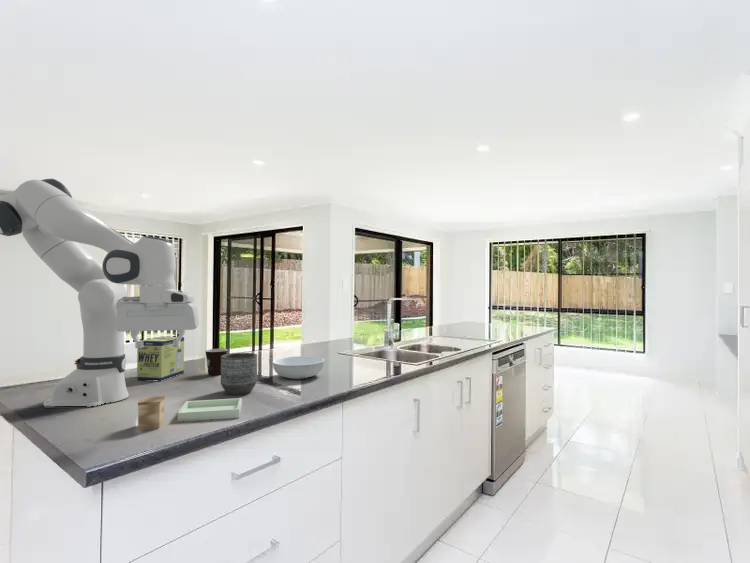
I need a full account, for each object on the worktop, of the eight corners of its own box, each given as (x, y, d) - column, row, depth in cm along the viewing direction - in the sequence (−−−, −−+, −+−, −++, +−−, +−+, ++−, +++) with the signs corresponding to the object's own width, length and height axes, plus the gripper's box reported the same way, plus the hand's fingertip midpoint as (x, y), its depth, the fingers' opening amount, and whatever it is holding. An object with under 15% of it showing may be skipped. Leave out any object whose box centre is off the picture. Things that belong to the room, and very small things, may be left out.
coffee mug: (206, 372, 177) (206, 349, 178) (227, 371, 180) (227, 348, 180) (203, 378, 166) (203, 353, 167) (226, 377, 169) (226, 352, 169)
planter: (261, 387, 152) (261, 352, 152) (251, 396, 140) (251, 358, 140) (227, 387, 152) (228, 352, 152) (214, 396, 140) (215, 358, 140)
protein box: (136, 380, 162) (136, 340, 162) (161, 372, 177) (162, 336, 178) (161, 381, 161) (161, 341, 161) (184, 373, 176) (184, 336, 176)
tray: (177, 421, 113) (177, 413, 113) (186, 409, 125) (186, 401, 125) (239, 417, 117) (239, 409, 117) (241, 405, 129) (242, 398, 129)
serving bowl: (280, 371, 182) (280, 355, 182) (327, 372, 181) (328, 356, 181) (265, 382, 161) (265, 364, 161) (319, 383, 160) (319, 365, 160)
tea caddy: (137, 430, 107) (137, 402, 107) (143, 423, 112) (143, 397, 112) (159, 428, 108) (160, 401, 108) (164, 422, 113) (164, 396, 113)
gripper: (110, 297, 108) (111, 350, 108) (193, 295, 112) (194, 347, 111) (121, 296, 115) (121, 346, 115) (199, 295, 118) (200, 344, 118)
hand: (158, 347), depth 113 cm, fingers open, 8 cm apart
